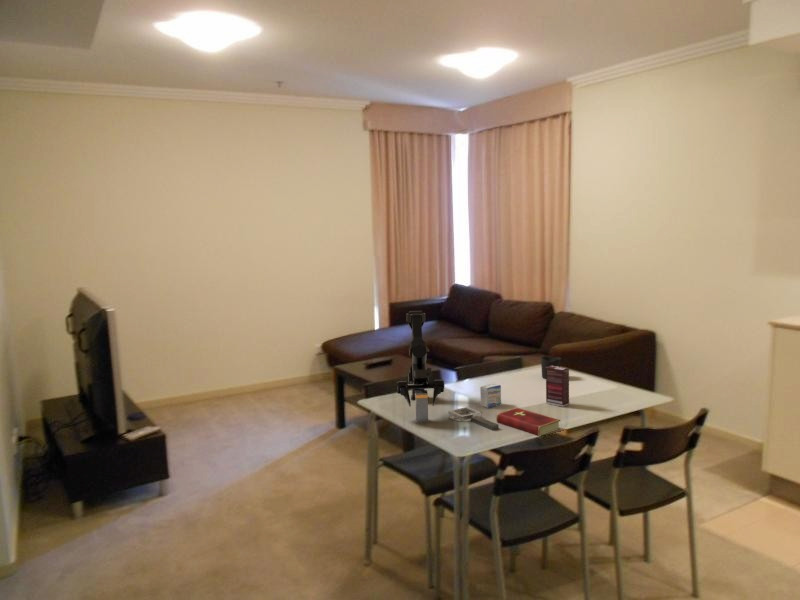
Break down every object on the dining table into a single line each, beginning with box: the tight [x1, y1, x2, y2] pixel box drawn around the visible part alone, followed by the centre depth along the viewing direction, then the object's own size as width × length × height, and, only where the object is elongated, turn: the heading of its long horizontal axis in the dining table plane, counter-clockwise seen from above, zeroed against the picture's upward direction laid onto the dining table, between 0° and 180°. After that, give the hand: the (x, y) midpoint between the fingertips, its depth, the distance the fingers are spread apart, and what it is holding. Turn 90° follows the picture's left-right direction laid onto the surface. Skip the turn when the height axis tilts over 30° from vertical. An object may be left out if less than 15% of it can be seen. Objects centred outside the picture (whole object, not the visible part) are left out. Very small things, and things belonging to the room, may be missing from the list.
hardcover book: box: [496, 407, 561, 437], centre depth 230 cm, size 12×21×4 cm, turn 37°
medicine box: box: [479, 383, 502, 409], centre depth 257 cm, size 8×4×9 cm, turn 123°
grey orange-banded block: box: [414, 389, 429, 424], centre depth 238 cm, size 5×5×12 cm
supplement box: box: [545, 366, 570, 408], centre depth 255 cm, size 9×5×16 cm, turn 44°
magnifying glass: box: [447, 406, 500, 431], centre depth 237 cm, size 25×12×2 cm, turn 31°
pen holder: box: [540, 355, 562, 380], centre depth 299 cm, size 9×9×10 cm
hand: (421, 405), depth 237 cm, fingers open, 9 cm apart
